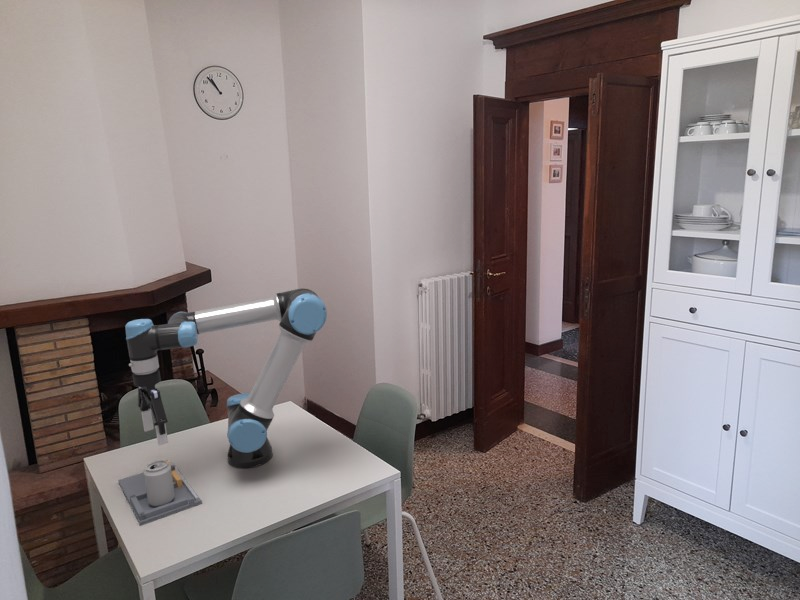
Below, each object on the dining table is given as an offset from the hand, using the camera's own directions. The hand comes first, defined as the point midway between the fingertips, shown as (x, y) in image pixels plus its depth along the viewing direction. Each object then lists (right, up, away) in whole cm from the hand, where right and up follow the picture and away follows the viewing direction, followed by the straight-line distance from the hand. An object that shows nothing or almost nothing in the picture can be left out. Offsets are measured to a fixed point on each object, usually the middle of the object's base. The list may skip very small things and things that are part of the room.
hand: (155, 436), depth 175 cm
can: (+4, -19, -4) cm, 19 cm away
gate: (+1, -15, +11) cm, 19 cm away
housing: (0, -18, +3) cm, 18 cm away
